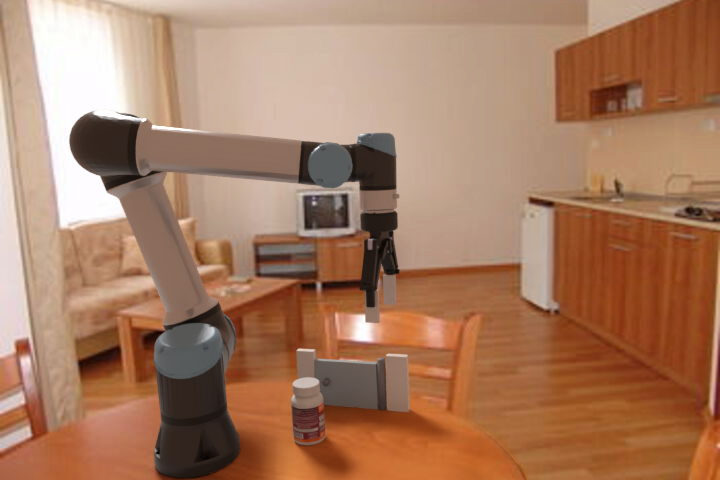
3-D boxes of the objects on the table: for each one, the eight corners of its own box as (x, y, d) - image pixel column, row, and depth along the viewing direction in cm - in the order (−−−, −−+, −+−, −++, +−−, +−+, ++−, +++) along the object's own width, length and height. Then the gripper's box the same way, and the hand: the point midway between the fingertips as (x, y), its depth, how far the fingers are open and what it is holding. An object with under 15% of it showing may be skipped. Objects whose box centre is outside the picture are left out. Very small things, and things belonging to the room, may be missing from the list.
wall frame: (299, 403, 124) (296, 350, 122) (301, 400, 126) (298, 348, 124) (408, 412, 118) (406, 357, 116) (409, 409, 119) (408, 354, 117)
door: (387, 407, 120) (386, 357, 119) (385, 412, 118) (383, 362, 116) (319, 401, 125) (317, 353, 123) (315, 406, 122) (312, 358, 120)
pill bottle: (327, 443, 106) (324, 386, 104) (294, 448, 105) (291, 390, 103) (323, 428, 112) (320, 374, 110) (291, 433, 111) (288, 378, 109)
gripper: (380, 218, 101) (383, 332, 104) (410, 204, 124) (412, 298, 128) (340, 218, 103) (345, 329, 106) (377, 204, 127) (380, 296, 130)
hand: (381, 312), depth 117 cm, fingers open, 13 cm apart
